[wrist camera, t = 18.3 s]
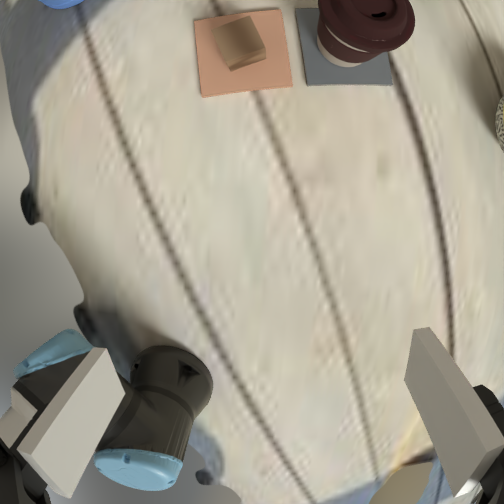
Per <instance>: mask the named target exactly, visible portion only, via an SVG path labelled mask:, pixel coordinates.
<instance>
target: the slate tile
mask: <svg viewBox="0 0 504 504" xmlns="http://www.w3.org/2000/svg"><path fill="white" fill-rule="evenodd" d="M295 13H296V18H297V24H298V29H299V35H300V41H301V47H302V54H303V60H304V67H305V74H306V81H307V86H323V85H380V86H392V85H393V83H392V77H391V71H390V65H389V59H388V54H387V52H383V53H381V54H380V55H378V56H376V57H374V58H373V59H371V60H369V61H367V62H363V63H361V64H360V65H358V66H354V67H341V66H338V65H335V64H333V63H331V62H330V61H328V60H327V59H326V58H325V57H324V56H323V55H322V53H321V52H320V50H319V48H318V44H317V35H318V33H317V26H318V20H319V14H320V12H319V8H300V9H295Z"/></svg>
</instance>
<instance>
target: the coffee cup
mask: <svg viewBox="0 0 504 504" xmlns="http://www.w3.org/2000/svg"><path fill="white" fill-rule="evenodd" d="M318 7H319V12H320V14H319V20H318V26H317V33H318V35H317V44H318V48H319V50H320V52H321V53H322V55H323V56H324V57H325V58H326V59H327V60H328V61H330V62H331V63H333V64H335V65H338V66H341V67H354V66H358V65H360V64H361V63H363V62H367V61H369V60H371V59H373V58H374V57H376V56H378V55H380V54H381V53H383V52H388V51H392V50H394V49H397V48H398V47H400V46H401V45H403V44H404V43H405V42H406V41H407V40H408V39H409V38H410V37H411V35H412V33H413V31H414V27H415V16H414V11H413V9H412V6H411V4H410V2H409V0H318Z"/></svg>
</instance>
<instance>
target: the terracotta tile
mask: <svg viewBox="0 0 504 504" xmlns="http://www.w3.org/2000/svg"><path fill="white" fill-rule="evenodd" d="M249 15H250V17H251V19H252V21H253V23H254V25H255V27H256V29H257V31H258V33H259V35H260V37H261V39H262V41H263V43H264V45H265V48H266V59H264V60H262V61H259V62H256V63H253V64H250V65H248V66H245V67H242V68H240V69H237V70H234V71H232V72H231V71H230V69H229V67H228V66H227V64H226V62H225V60H224V58H223V55H222V53H221V51H220V49H219V46H218V44H217V42H216V40H215V38H214V35H213V33H212V31H211V29H214V28H216V27H219V26H222V25H224V24H227V23H230V22H232V21H235V20H238V19H241V18H244V17H246V16H249ZM194 25H195V36H196V46H197V56H198V66H199V76H200V85H201V94H202V97H203V98H205V97H211V96H217V95H224V94H231V93H238V92H246V91H255V90H264V89H274V88H286V87H293V84H292V77H291V70H290V63H289V56H288V49H287V43H286V37H285V30H284V24H283V18H282V12H281V9H280V10H267V11H256V12H247V13H239V14H232V15H225V16H219V17H213V18H208V19H202V20H197V21H194Z"/></svg>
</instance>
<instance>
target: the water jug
mask: <svg viewBox="0 0 504 504" xmlns="http://www.w3.org/2000/svg"><path fill="white" fill-rule="evenodd" d="M38 1H40V2H43V3H44V4H45V5H47V6H49V7H51V8H54V9H65V8H69V7H72V6H75V5H77V4H79V3H81V2H82V1H84V0H38Z"/></svg>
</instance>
